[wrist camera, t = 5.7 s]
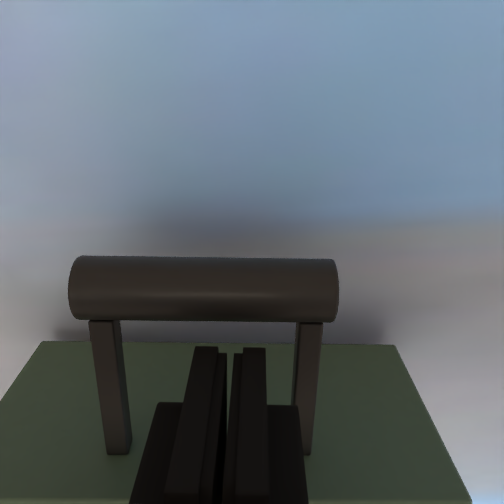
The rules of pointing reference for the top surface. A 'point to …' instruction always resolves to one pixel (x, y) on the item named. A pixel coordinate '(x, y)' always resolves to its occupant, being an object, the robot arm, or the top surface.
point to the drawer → (277, 382)
